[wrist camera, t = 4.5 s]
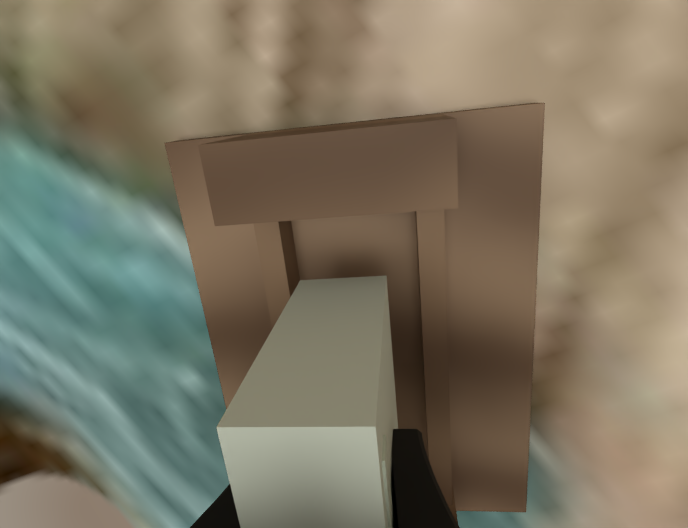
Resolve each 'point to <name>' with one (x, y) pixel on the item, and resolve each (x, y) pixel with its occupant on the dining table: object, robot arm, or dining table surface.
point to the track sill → (389, 265)
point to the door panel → (317, 414)
